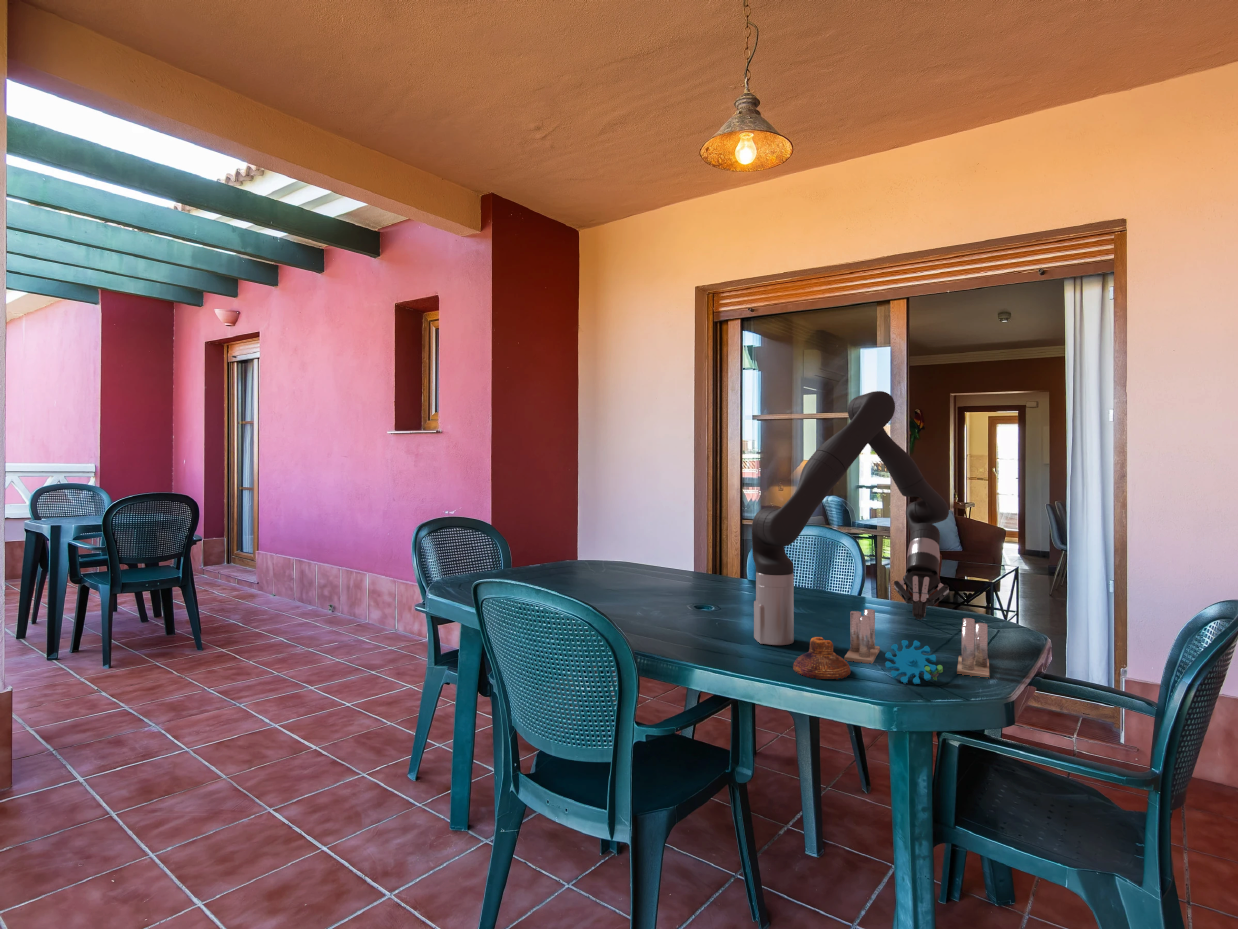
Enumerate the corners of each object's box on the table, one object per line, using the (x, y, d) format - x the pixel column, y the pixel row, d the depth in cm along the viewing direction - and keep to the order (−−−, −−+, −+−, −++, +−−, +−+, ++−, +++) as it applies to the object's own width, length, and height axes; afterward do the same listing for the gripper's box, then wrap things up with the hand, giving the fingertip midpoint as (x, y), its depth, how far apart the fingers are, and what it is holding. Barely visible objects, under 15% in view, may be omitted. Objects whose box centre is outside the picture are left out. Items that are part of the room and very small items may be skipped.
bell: (789, 664, 156) (789, 631, 156) (844, 665, 154) (844, 632, 154) (797, 680, 144) (796, 645, 144) (856, 682, 143) (856, 646, 143)
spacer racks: (853, 646, 169) (853, 643, 169) (988, 662, 156) (988, 659, 155) (844, 660, 157) (844, 657, 157) (989, 678, 144) (989, 674, 144)
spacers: (854, 645, 168) (854, 607, 168) (987, 660, 154) (987, 619, 154) (846, 655, 158) (846, 616, 158) (987, 672, 145) (987, 629, 145)
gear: (877, 672, 143) (892, 632, 148) (881, 686, 147) (895, 647, 152) (934, 690, 137) (948, 647, 142) (936, 704, 140) (949, 663, 145)
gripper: (894, 549, 177) (887, 605, 166) (951, 552, 171) (949, 611, 160) (896, 567, 182) (890, 623, 171) (952, 571, 175) (949, 629, 165)
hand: (918, 617), depth 165 cm, fingers closed
